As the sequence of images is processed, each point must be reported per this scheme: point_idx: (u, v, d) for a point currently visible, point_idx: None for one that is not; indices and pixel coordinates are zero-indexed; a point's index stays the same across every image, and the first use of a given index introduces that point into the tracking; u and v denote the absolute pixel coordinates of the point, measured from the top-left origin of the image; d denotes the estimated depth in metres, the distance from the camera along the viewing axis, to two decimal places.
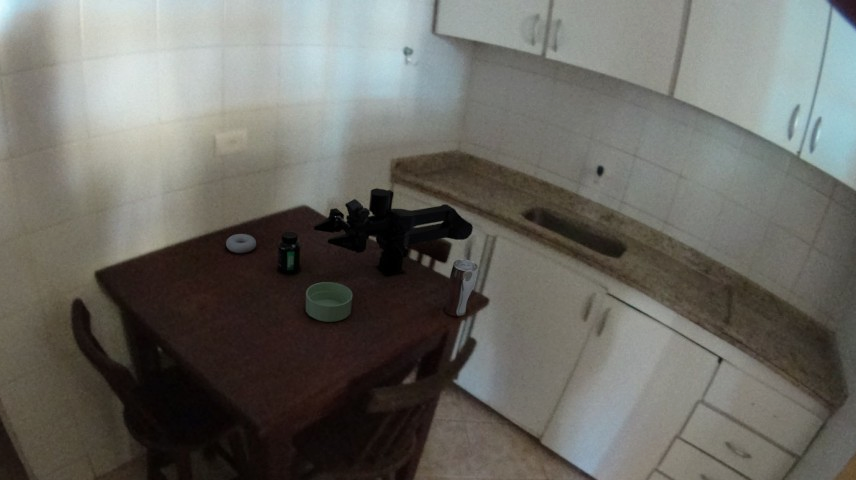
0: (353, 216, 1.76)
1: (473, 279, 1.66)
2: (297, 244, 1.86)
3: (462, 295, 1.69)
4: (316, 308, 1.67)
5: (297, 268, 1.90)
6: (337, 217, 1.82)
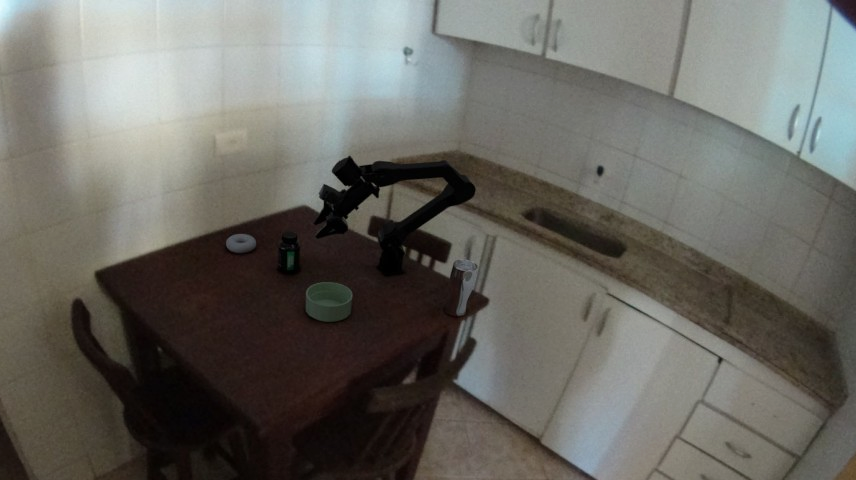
0: None
1: (473, 279, 1.66)
2: (297, 244, 1.86)
3: (462, 295, 1.69)
4: (316, 308, 1.67)
5: (297, 268, 1.90)
6: (329, 202, 1.86)
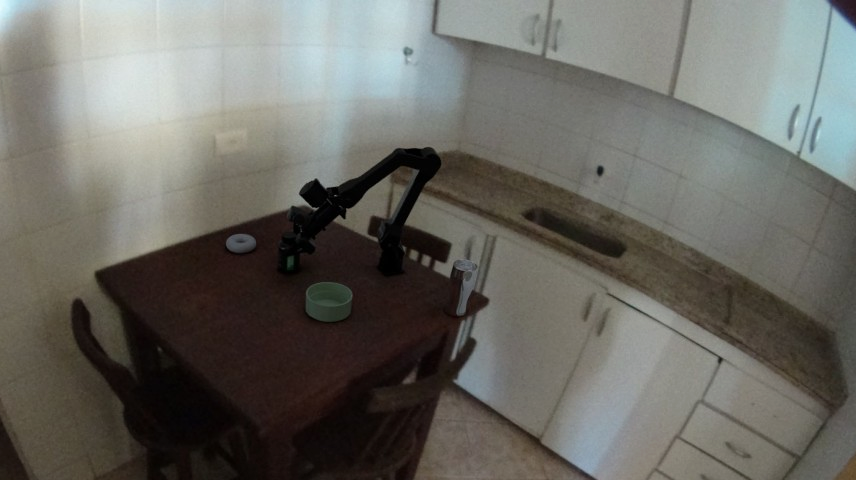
0: None
1: (473, 279, 1.66)
2: None
3: (462, 295, 1.69)
4: (316, 308, 1.67)
5: (297, 268, 1.90)
6: None
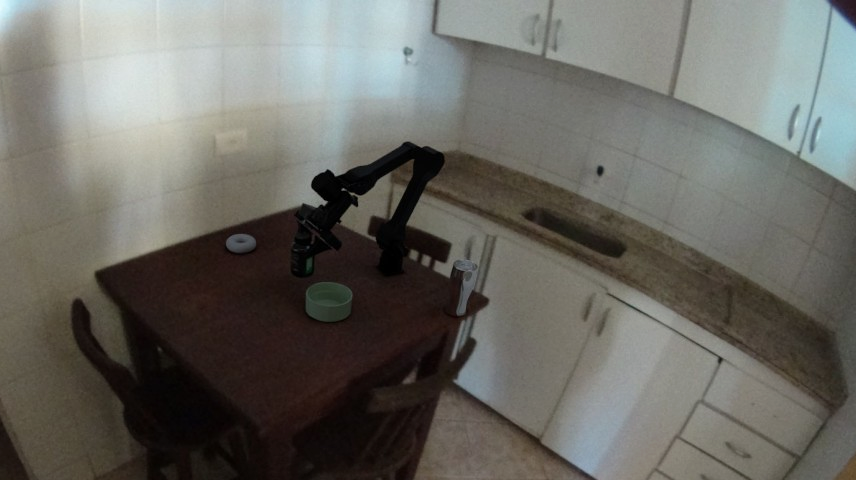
0: None
1: (473, 279, 1.66)
2: (312, 243, 1.72)
3: (462, 295, 1.69)
4: (316, 308, 1.67)
5: (313, 269, 1.76)
6: None
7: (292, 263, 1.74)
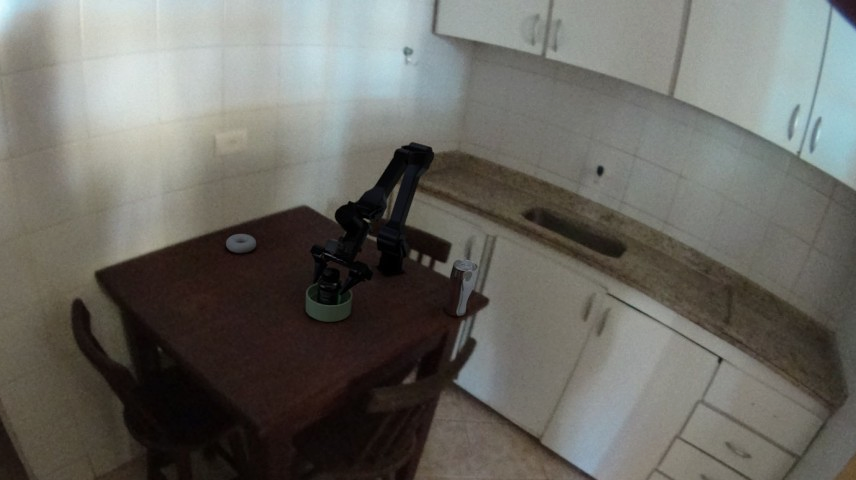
0: None
1: (473, 279, 1.66)
2: None
3: (462, 295, 1.69)
4: (316, 308, 1.67)
5: None
6: (322, 255, 1.70)
7: (322, 301, 1.69)
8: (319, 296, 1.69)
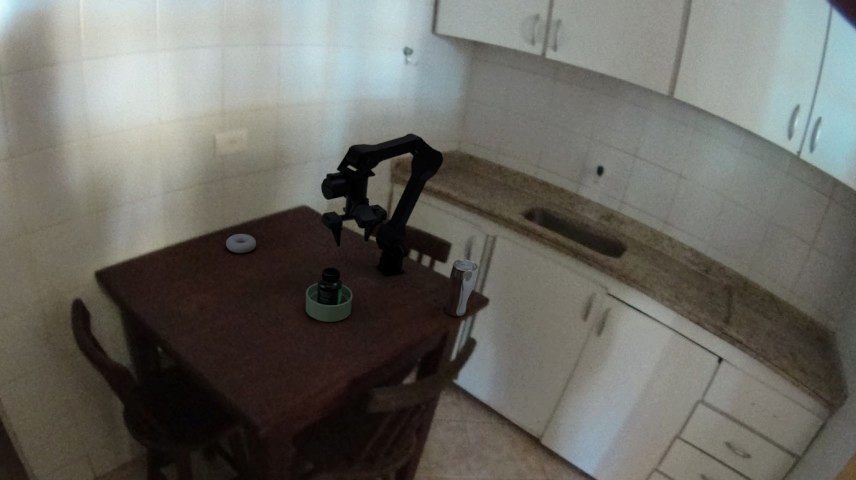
0: None
1: (473, 279, 1.66)
2: None
3: (462, 295, 1.69)
4: (316, 308, 1.67)
5: None
6: None
7: (322, 301, 1.69)
8: (319, 296, 1.69)
